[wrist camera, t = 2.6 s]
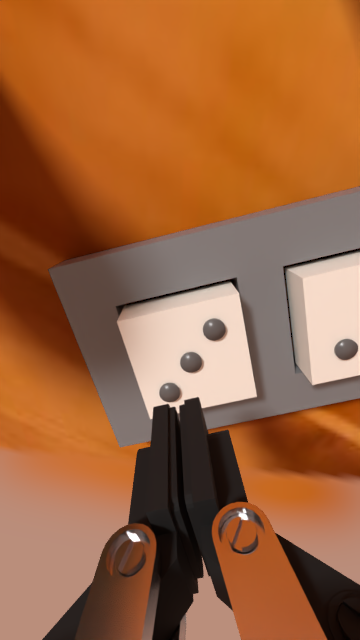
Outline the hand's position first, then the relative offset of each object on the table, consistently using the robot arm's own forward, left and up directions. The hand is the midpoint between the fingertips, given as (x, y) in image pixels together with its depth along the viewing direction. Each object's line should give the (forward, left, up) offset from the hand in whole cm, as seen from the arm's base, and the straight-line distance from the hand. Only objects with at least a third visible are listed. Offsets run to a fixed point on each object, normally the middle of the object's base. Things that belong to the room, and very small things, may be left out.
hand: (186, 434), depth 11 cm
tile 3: (0, 0, -7) cm, 7 cm away
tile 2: (-9, 0, -7) cm, 12 cm away
